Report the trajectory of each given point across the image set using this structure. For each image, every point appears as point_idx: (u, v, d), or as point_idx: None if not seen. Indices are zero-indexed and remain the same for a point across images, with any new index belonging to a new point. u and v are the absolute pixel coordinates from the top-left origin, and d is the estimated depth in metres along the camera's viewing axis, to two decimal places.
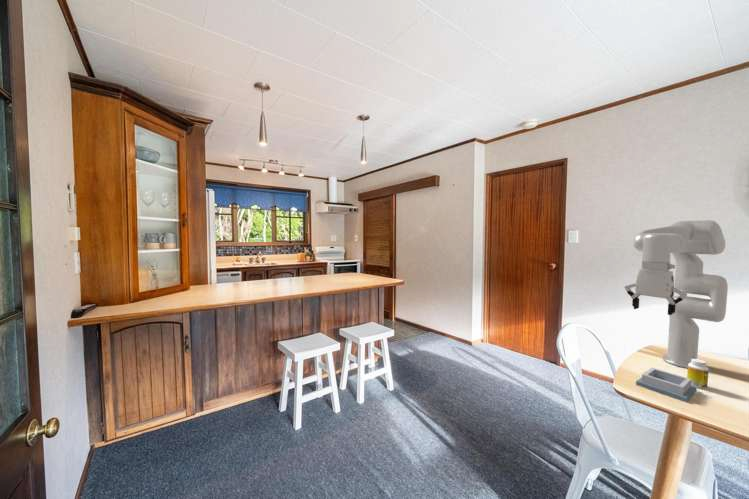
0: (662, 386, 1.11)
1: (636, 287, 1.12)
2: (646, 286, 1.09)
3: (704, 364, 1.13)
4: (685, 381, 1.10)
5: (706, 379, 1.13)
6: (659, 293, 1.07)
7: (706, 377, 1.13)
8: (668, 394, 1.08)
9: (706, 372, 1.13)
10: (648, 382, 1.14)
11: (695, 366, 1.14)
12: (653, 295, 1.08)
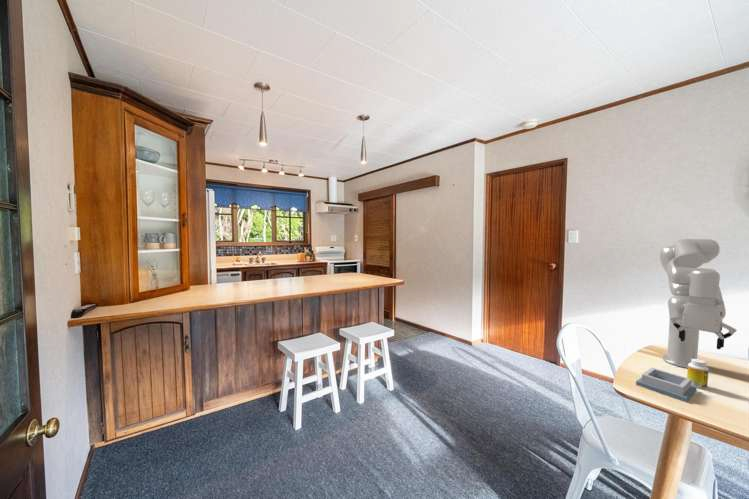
0: (662, 386, 1.11)
1: (683, 320, 1.17)
2: (694, 320, 1.14)
3: (704, 364, 1.13)
4: (685, 381, 1.10)
5: (706, 379, 1.13)
6: (708, 327, 1.11)
7: (706, 377, 1.13)
8: (668, 394, 1.08)
9: (706, 372, 1.13)
10: (648, 382, 1.14)
11: (695, 366, 1.14)
12: (701, 329, 1.13)
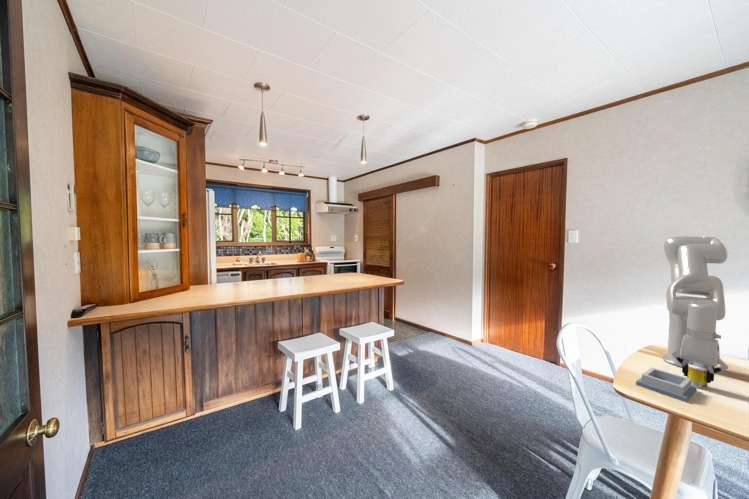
0: (662, 386, 1.11)
1: (681, 352, 1.18)
2: (691, 353, 1.15)
3: None
4: (685, 381, 1.10)
5: (706, 379, 1.13)
6: (705, 361, 1.12)
7: (706, 377, 1.13)
8: (668, 394, 1.08)
9: (706, 372, 1.13)
10: (648, 382, 1.14)
11: (695, 366, 1.14)
12: (699, 362, 1.14)
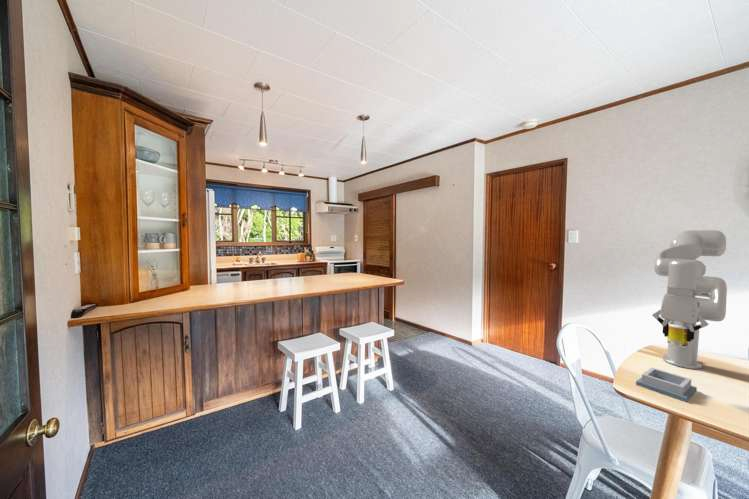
0: (662, 386, 1.11)
1: (661, 312, 1.15)
2: (672, 311, 1.12)
3: None
4: (685, 381, 1.10)
5: (686, 338, 1.10)
6: (685, 319, 1.10)
7: None
8: (668, 394, 1.08)
9: (686, 330, 1.10)
10: (648, 382, 1.14)
11: (675, 325, 1.12)
12: (679, 320, 1.11)
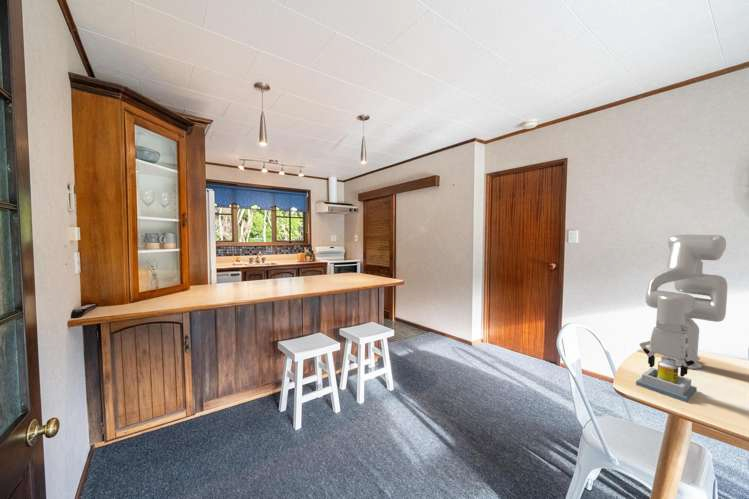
0: (662, 386, 1.11)
1: (650, 345, 1.16)
2: (661, 346, 1.13)
3: (673, 362, 1.11)
4: (685, 381, 1.10)
5: (675, 378, 1.11)
6: (673, 354, 1.10)
7: (676, 376, 1.11)
8: (668, 394, 1.08)
9: (675, 370, 1.11)
10: (648, 382, 1.14)
11: (665, 364, 1.13)
12: (667, 355, 1.12)
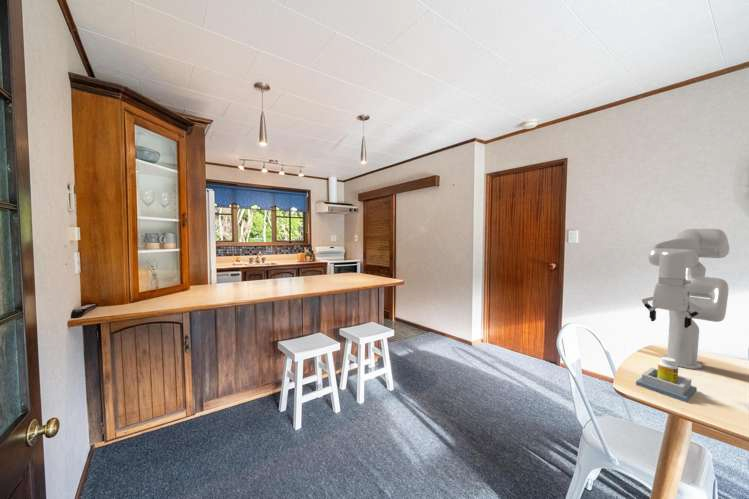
0: (662, 386, 1.11)
1: (653, 301, 1.19)
2: (663, 300, 1.16)
3: (674, 362, 1.11)
4: (685, 381, 1.10)
5: (675, 378, 1.11)
6: (676, 307, 1.13)
7: (676, 376, 1.11)
8: (668, 394, 1.08)
9: (675, 370, 1.11)
10: (648, 382, 1.14)
11: (665, 364, 1.12)
12: (670, 309, 1.15)
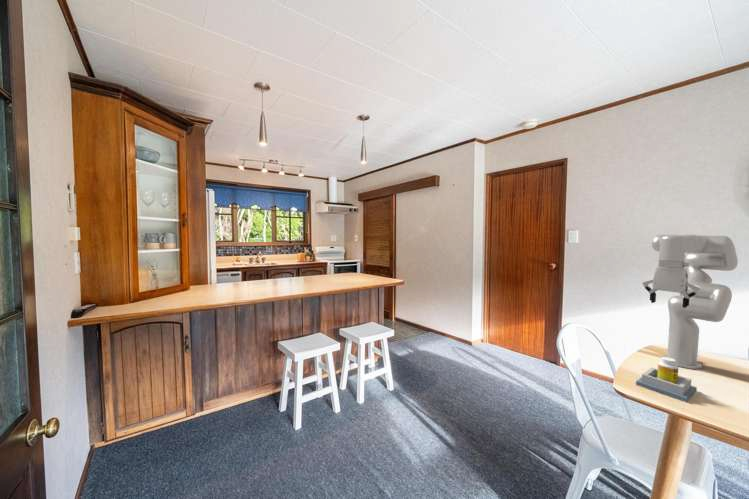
0: (662, 386, 1.11)
1: (653, 283, 1.26)
2: (663, 282, 1.23)
3: (674, 362, 1.11)
4: (685, 381, 1.10)
5: (676, 378, 1.11)
6: (675, 288, 1.20)
7: (676, 376, 1.11)
8: (668, 394, 1.08)
9: (675, 370, 1.11)
10: (648, 382, 1.14)
11: (665, 364, 1.12)
12: (669, 290, 1.22)
